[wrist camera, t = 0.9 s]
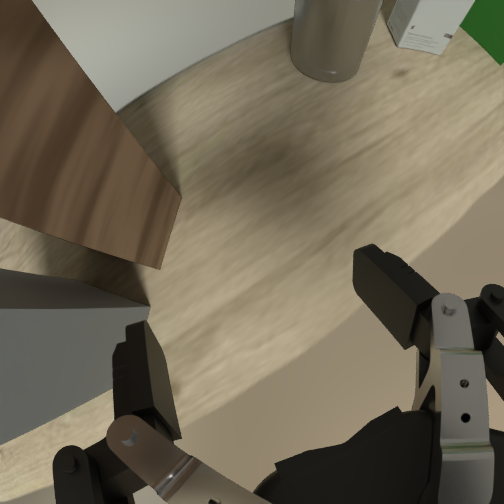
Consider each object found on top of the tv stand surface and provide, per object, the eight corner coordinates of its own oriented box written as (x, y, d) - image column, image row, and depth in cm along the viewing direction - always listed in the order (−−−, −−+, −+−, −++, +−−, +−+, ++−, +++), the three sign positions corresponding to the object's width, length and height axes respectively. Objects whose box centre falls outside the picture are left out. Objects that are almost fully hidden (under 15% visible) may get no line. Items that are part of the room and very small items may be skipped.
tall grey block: (150, 306, 33) (-18, 308, 10) (134, 376, 32) (-20, 454, 9) (75, 280, 33) (-93, 250, 11) (62, 344, 32) (-100, 366, 10)
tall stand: (181, 197, 34) (-16, -69, 3) (160, 270, 33) (-165, 146, 2) (105, 181, 35) (-100, 5, 3) (84, 246, 34) (-174, 143, 2)
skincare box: (396, 48, 37) (429, -24, 22) (385, 22, 38) (410, -46, 23) (442, 56, 37) (481, -6, 22) (429, 30, 37) (461, -30, 23)
